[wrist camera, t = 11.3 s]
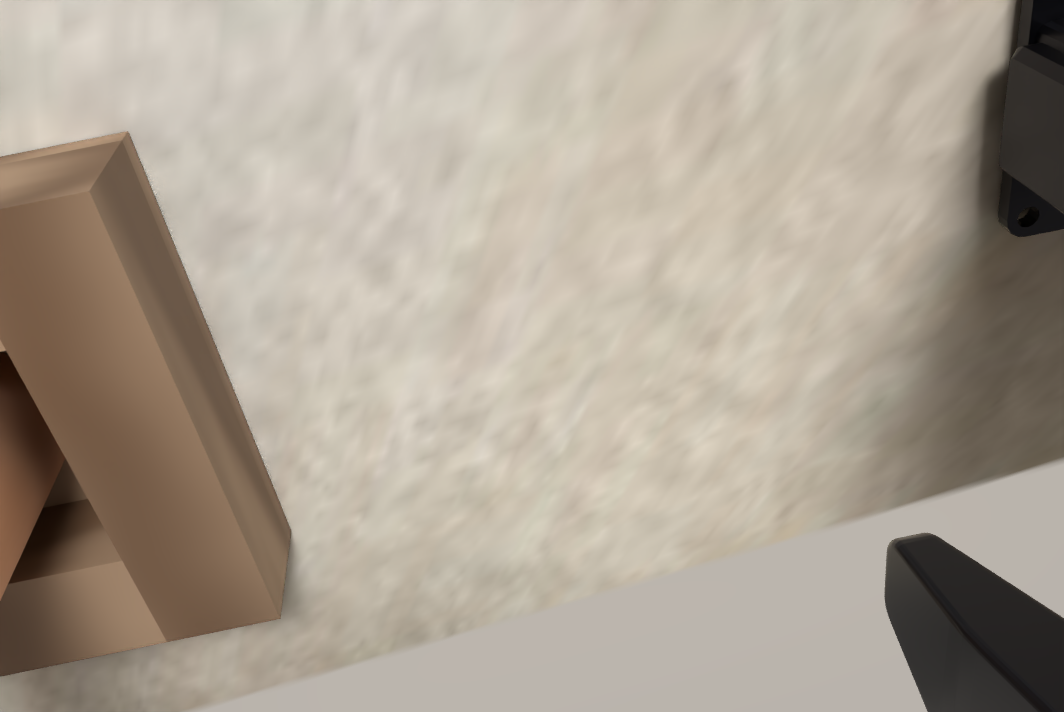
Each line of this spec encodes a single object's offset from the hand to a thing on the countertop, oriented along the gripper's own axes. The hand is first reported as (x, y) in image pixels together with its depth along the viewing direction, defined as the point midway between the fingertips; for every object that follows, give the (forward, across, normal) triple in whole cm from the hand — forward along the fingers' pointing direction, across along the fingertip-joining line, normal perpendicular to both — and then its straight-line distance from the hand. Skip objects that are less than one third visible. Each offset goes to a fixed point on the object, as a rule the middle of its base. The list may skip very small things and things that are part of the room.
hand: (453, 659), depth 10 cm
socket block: (+13, +11, +4) cm, 17 cm away
